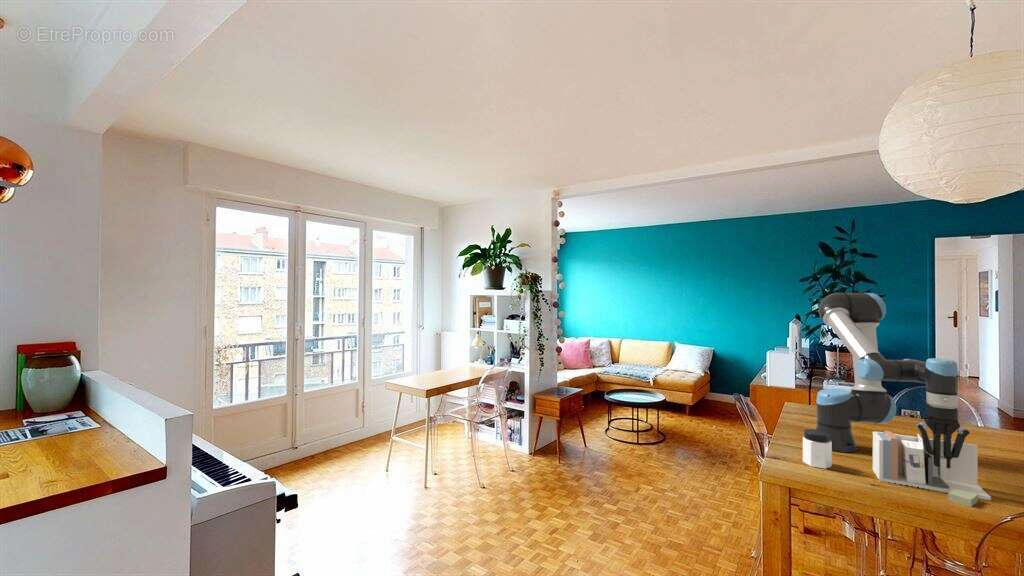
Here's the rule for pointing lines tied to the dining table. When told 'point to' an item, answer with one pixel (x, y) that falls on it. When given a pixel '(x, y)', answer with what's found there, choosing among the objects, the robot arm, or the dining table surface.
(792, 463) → the dining table surface
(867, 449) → the dining table surface
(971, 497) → the fallen book
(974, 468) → the shelf
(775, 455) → the dining table surface
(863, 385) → the robot arm
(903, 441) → the ink box
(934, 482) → the bookend
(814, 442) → the jar
